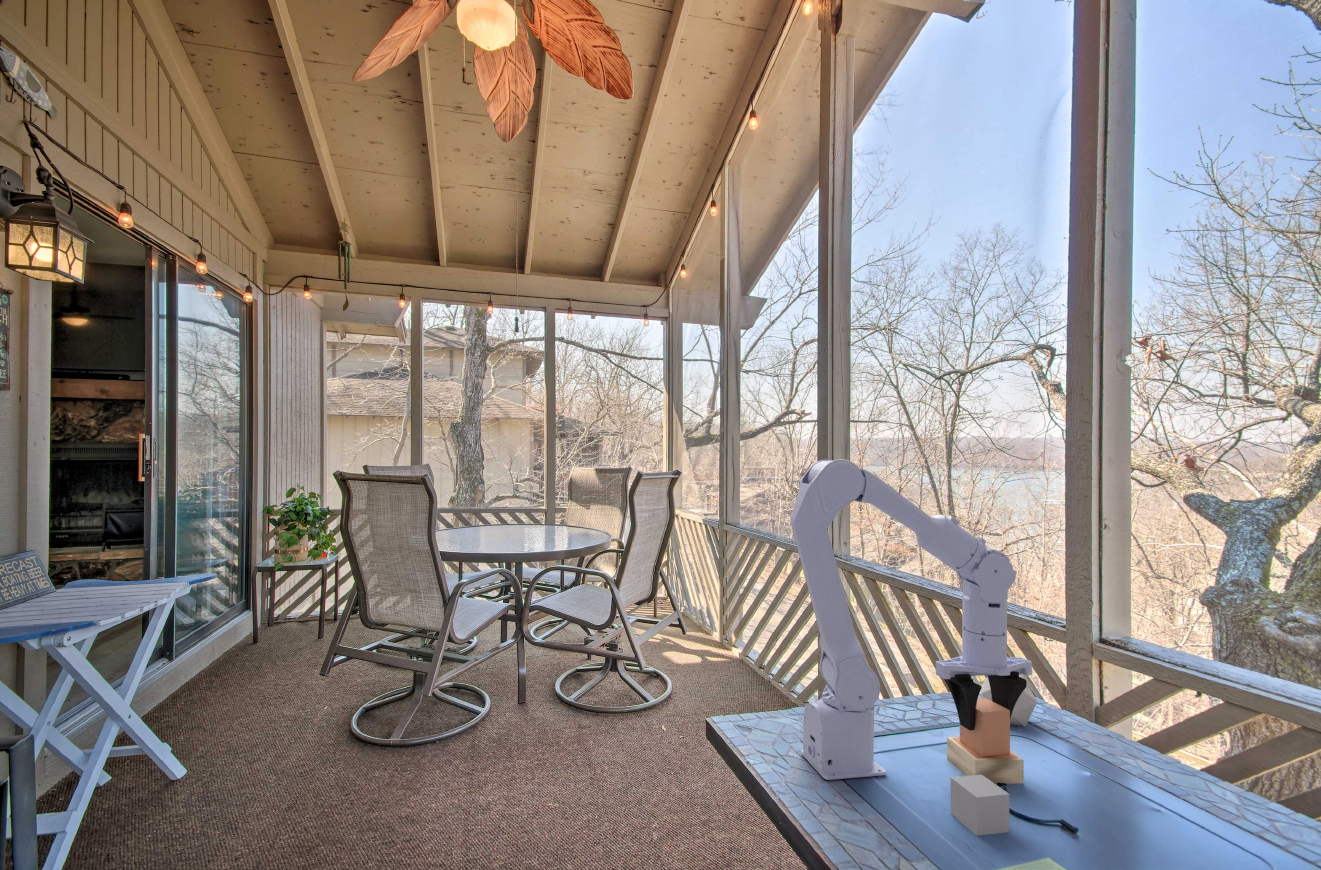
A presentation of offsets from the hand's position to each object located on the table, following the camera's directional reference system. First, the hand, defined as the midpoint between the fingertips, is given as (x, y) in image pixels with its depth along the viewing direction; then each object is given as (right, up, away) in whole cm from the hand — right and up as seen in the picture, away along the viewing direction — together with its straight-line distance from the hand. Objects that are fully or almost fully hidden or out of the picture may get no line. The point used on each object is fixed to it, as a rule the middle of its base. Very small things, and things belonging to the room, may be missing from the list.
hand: (983, 726), depth 86 cm
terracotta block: (0, -3, 0) cm, 3 cm away
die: (+13, -8, +17) cm, 23 cm away
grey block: (-8, -6, -13) cm, 16 cm away
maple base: (0, -7, 0) cm, 7 cm away
